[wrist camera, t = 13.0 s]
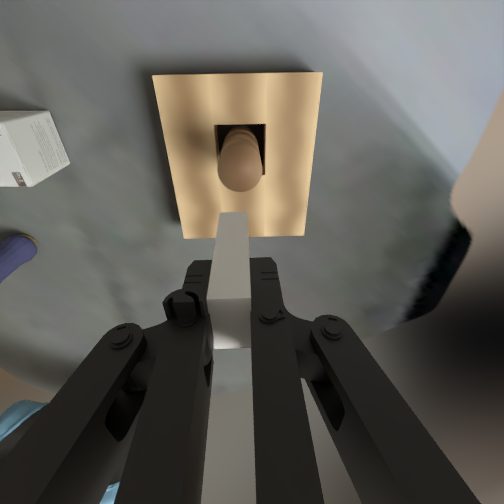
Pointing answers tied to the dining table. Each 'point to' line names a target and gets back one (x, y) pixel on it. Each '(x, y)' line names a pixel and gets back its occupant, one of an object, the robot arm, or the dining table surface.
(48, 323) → the dining table surface
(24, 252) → the rubber mallet
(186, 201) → the board
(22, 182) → the skincare box
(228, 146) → the peg
